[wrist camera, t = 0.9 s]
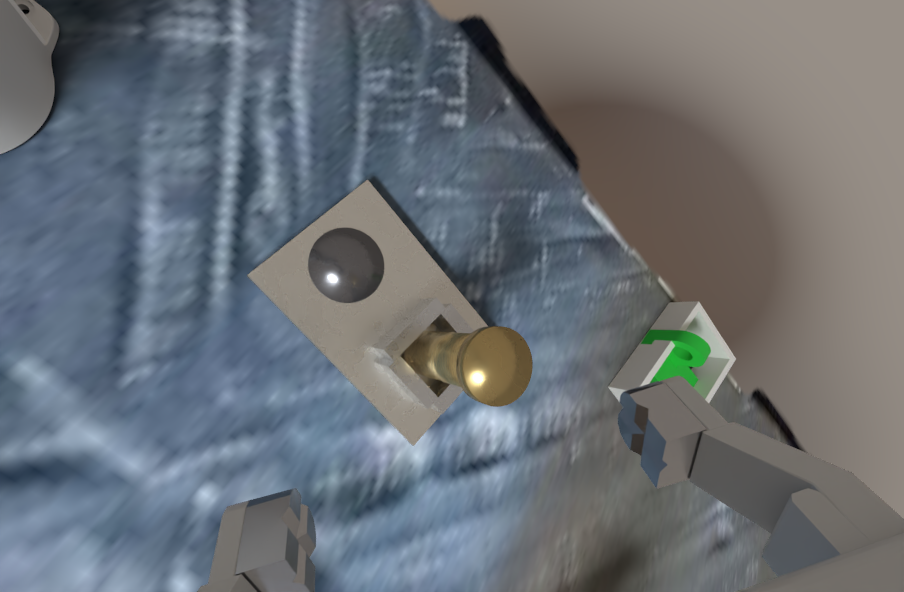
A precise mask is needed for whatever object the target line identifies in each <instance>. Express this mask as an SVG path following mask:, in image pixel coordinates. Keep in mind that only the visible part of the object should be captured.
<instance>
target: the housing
mask: <svg viewBox="0 0 904 592" xmlns="http://www.w3.org/2000/svg"><path fill="white" fill-rule="evenodd" d="M247 277H248V278H249V279H250V280H251V281H252V282H253V283H254V284H255V285H256V286H257V287H258V288H259V289H260V290H261V291H262V292H263V293H264V295H265V296H266V297H267V298H268V299H269V300H270V301H271V302H272V303H273V304H274V305H275V306H276V307H277V308H278V309H279V310H280V311H281V312H282V313H283V314H284V315H285V316H286V317H287V318H288V319H289V320H290V321H291V322H292V323H293V324H294V325H295V326H296V327H297V328H298V329H299V330H300V331H301V333H302V334H303V335H304V336H305V337H306V338H307V339H308V340H309V341H310V342H311V343H312V344H313V345H314V346H315V347H316V348H317V349H318V350H319V351H320V352H321V353H322V354H323V355H324V356H325V357H326V358H327V359H328V360H329V361H330V362H331V363H332V364H333V365H334V366H335V367H336V368H337V369H338V370H339V372H340V373H341V374H342V375H343V376H344V377H345V378H346V379H347V380H348V381H349V382H350V383H351V384H352V385H353V386H354V387H355V388H356V389H357V390H358V391H359V392H360V393H361V394H362V395H363V396H364V397H365V398H366V399H367V400H368V401H369V402H370V403H371V404H372V405H373V406H374V407H375V408H376V410H377V411H378V412H379V413H380V414H381V415H382V416H383V417H384V418H385V419H386V420H387V421H388V422H389V423H390V424H391V425H392V426H393V427H394V428H395V429H396V430H397V431H398V432H399V433H400V434H401V435H402V436H403V437H404V438H405V439H406V440H407V441H408V442H409V443H410V444H411V445H413V446H414V445H415V444H416V442H417V441H418V440H419V439H420V438H421V437H422V436H423V434H424V433H425V432H426V431H427V430H428V429H429V428H430V426H431V425H432V424H433V423H434V422H435V421H436V420H437V418H438V417H439V416H440V415H441V414H443V413H444V412H445V411H446V410H447V408H448V407H449V406H450V405H451V404H452V403H453V402H454V400H455V399H456V398H457V397H458V396H459V395H460V394H461V392H462V391H463V389H462V387H458V386H455V385H452V384H449V383H445V382H442V381H439V380H436V379H432V378H429V377H426V376H423V375H419V374H417V373H415V372H414V370H413V369H412V368H411V367H410V366H409V365H408V364H407V363H406V361H405V356H404V351H405V350H406V349H407V348H408V347H409V346H410V345H411V344H412V343H413V342H414V341H415V340H416V339H417V337H418V336H419V335H420V334H421V333H422V332H423V331H440V332H456V333H472V332H474V331H475V330H477V329H479V328H482V327H488V325H487V324H486V323H485V322H484V321H483V319H482V318H481V317H480V316H479V314H478V313H477V312H476V311H475V310H474V308H473V307H472V306H471V305H470V304H469V302H468V301H467V300H466V299H465V297H464V296H463V295H462V294H461V293H460V291H459V290H458V289H457V288H456V286H455V285H454V284H453V283H452V282H451V280H450V279H449V278H448V277H447V276H446V274H445V273H444V272H443V271H442V269H441V268H440V267H439V266H438V265H437V263H436V262H435V261H434V260H433V258H432V257H431V256H430V255H429V254H428V252H427V251H426V250H425V249H424V248H423V246H422V245H421V244H420V243H419V241H418V240H417V239H416V238H415V237H414V235H413V234H412V233H411V232H410V230H409V229H408V228H407V227H406V226H405V224H404V223H403V222H402V221H401V220H400V218H399V217H398V216H397V215H396V213H395V212H394V211H393V210H392V209H391V207H390V206H389V205H388V204H387V202H386V201H385V200H384V199H383V198H382V196H381V195H380V194H379V193H378V192H377V190H376V189H375V188H374V187H373V185H372V184H371V183H370V182H369V181H368V180H367V181H365V182H364V183H363V184H361V185H360V186H359V187H358V188H356V189H355V190H354V191H353V192H351V193H350V194H349V195H348V196H346V197H345V198H344V199H343V200H341V201H340V202H339V203H338V204H336V205H335V206H334V207H333V208H331V209H330V210H329V211H327V212H326V213H325V214H324V215H322V216H321V217H320V218H319V219H317V220H316V221H315V222H314V223H312V224H311V225H310V226H309V227H307V228H306V229H305V230H304V231H302V232H301V233H300V234H299V235H297V236H296V237H295V238H293V239H292V240H291V241H290V242H288V243H287V244H286V245H285V246H283V247H282V248H281V249H280V250H278V251H277V252H276V253H275V254H273V255H272V256H271V257H270V258H268V259H267V260H266V261H265V262H263V263H262V264H261V265H259V266H258V267H257V268H256V269H254V270H253V271H252V272H251V273H249V274H248V275H247Z"/></svg>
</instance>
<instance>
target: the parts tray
mask: <svg viewBox="0 0 904 592" xmlns="http://www.w3.org/2000/svg"><path fill="white" fill-rule="evenodd" d="M650 330H683V331H688V332H691V333H693V334H696V335H698V336H699V337H701V338H702V339H704V340H705V341H706V342H707V343H708V344H709V346H710V348H711V353H710V354H709V356H708V358H707V360H706V361H705V363H704V364H703V365H702V366H700V367H692V369H691V370H692V372H693V373H694V374H695V376H696V377H697V378H698V381H697V383H696V384H695V386H694V387H693V388H694V389H695V390H696V391H697V392H698V393H699V394H700V395H701V396H702V397H703V398H704V399H705V400H706V401H707V402H708V403H709V402H710V401H711V399H712V397H713V396H714V394H715V392H716V391H717V389H718V387H719V386H720V384H721V383H722V381H723V379H724V378H725V376H726V374H727V373H728V371H729V369H730V368H731V366H732V365H733V363H734V361H735V359H736V358H735V357H734V355H733V354H732V352H731V351H730V349H729V347H728V346H727V344H726V343H725V341H724V340H723V338H722V337H721V335H720V333H719V332H718V330H717V329H716V327H715V326H714V324H713V323H712V321H711V319H710V318H709V316H708V315H707V313H706V312H705V310H704V309H703V307H702V305H701V304H700V302H699V301H694V302H669V304H668V305H667V306H666V308H665V309H664V310H663V312H662V313H661V315H660V316H659V317H658V319H657V320H656V321H655V323H654V324H653V326H652V327H651V328H650ZM647 333H648V332H647ZM645 336H646V335H645ZM644 338H645V337H644ZM644 338H643V339H644ZM643 339H642V341H643ZM642 341H641V342H642ZM641 342H640V343H639V345H638V346H637V348H636V349H635V350H634V352H633V353H632V354H631V356H630V357H629V359H628V360H627V361H626V363H625V364H624V365H623V367H622V368H621V370H620V371H619V372H618V374H617V375H616V376H615V378H614V379H613V381H612V382H611V383H610V385H609V386H608V387H609V389H610V390H611V391H612V393H613V394H614V395H615V397H616V398H617V399H618V401H619V402H620V395H621V394H622V393H623V392H624V391H627V390H630V389H634V388H637V387H640V386H643V385H647V384H649V383H650V381H651V380H652V379H653V377H654V376H655V374H656V373H657V371H658V370H659V368H660V367H661V365H662V364H663V363H664V361H665V360H666V358H667V357H668V355H669V354H670V352H671V351H672V349H673V348H674V347H675V345H674V343H673V342H672V341H666V340H654V342H653V343H652V344H641Z"/></svg>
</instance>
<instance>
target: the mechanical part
mask: <svg viewBox="0 0 904 592" xmlns="http://www.w3.org/2000/svg"><path fill="white" fill-rule="evenodd" d="M654 340H666V341H672V342H673V343H674V345H675V347H674V348H673V349H672V351H671V352H670V354H669V355H668V357H667V358H666V360H665V361H664V363H663V364H662V365H661V367H660V368H659V370H658V371H657V373H656V374H655V376H654V377H653V379H652V380H651V381H650V383H653V382H656V381H662V380H665V379H668V378H671V377H675V376H681V377H683V378H685V379H686V380H687V381H688V383H689V384H690V385H691V386H692V387H694V386H695V384H696V383H697V381H698V378H697V377H696V376H695V374H694V373H693V372H692V370H691V369H690V368H689V367H700V366H702V365H703V364H704V363H705V361H706V360H707V358H708V356H709V354H710V353H711V348H710V346H709V344H708V343H707V342H706V341H705V340H704V339H702V338H701V337H699V336H698V335H696V334H693V333H691V332H688V331H683V330H649V331H648V333H647V334H646V336H645V338H644V339H643V341H642V342H641V344H652V343H653V342H654Z"/></svg>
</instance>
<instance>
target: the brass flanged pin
mask: <svg viewBox="0 0 904 592" xmlns="http://www.w3.org/2000/svg"><path fill="white" fill-rule="evenodd" d="M404 356H405V361H406V363H407V364H408V365H409V366H410V367H411V368H412V369H413V370H414V372H415V373H417V374H419V375H423V376H426V377H429V378H432V379H436V380H439V381H442V382H445V383H449V384H452V385H455V386H458V387H462V389H463V390H464V392H465V393H466V394H467V395H468V396H469V397H471V398H472V399H474V400H476V401H478V402H481V403H484V404H487V405H490V406H505V405H508V404H510V403H512V402H514V401H515V400H516V399H518V398H519V397H520V396H521V395H522V394H523V392H524V391H525V389H526V388H527V386H528V384H529V381H530V378H531V374H532V356H531V352H530V349H529V347H528V345H527V343H526V341H525V340H524V338H523V337H522V336H521V335H520V334H518V333H517V332H516V331H514V330H512V329H510V328H507V327H496V326H488V327H482V328H479V329H477V330H475V331H474V332H472V333H456V332H440V331H423V332H422V333H421V334H420V335H419V336H418V337H417V339H416V340H415V341H414V342H413V343H412V344H411V345H410V346H409V347H408V348H407V349H406V350H405V351H404Z"/></svg>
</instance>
